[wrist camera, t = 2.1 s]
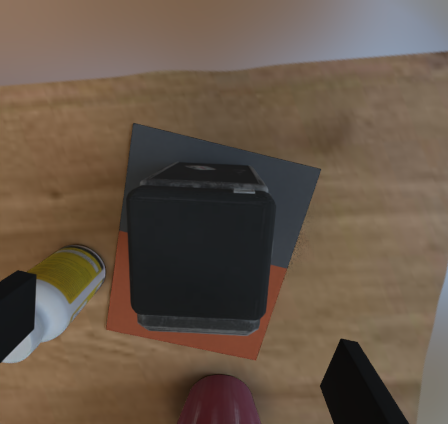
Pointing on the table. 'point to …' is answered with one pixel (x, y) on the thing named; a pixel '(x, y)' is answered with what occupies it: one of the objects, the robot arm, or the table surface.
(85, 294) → the pill bottle
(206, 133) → the table surface
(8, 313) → the robot arm
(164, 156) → the desk mat
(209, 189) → the camera
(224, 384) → the flower pot
